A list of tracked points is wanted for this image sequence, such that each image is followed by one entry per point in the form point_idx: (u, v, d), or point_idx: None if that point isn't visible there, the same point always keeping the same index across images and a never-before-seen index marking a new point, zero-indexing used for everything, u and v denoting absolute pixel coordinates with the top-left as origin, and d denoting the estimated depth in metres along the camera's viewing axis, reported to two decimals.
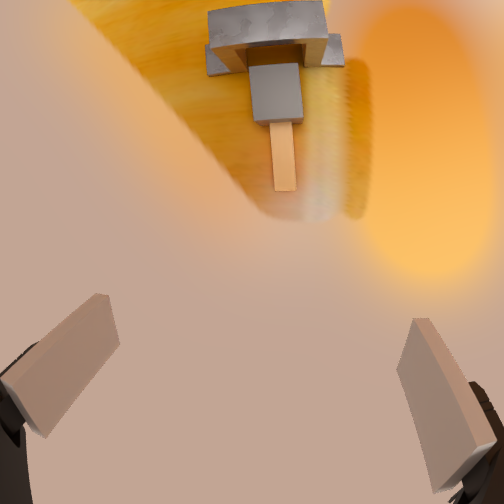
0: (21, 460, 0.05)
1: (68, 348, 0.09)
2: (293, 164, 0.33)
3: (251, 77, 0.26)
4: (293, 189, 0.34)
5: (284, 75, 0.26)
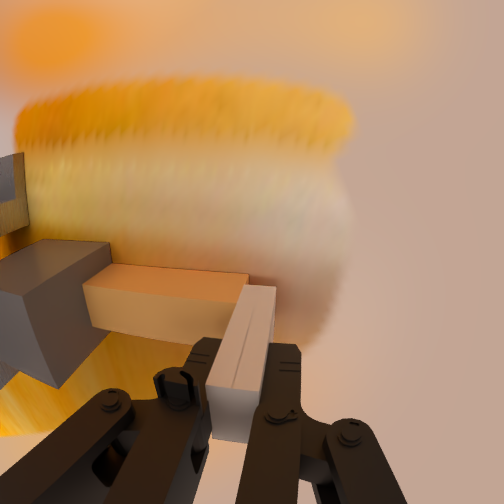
0: (193, 488, 0.06)
1: None
2: (169, 299, 0.13)
3: (4, 360, 0.11)
4: None
5: None
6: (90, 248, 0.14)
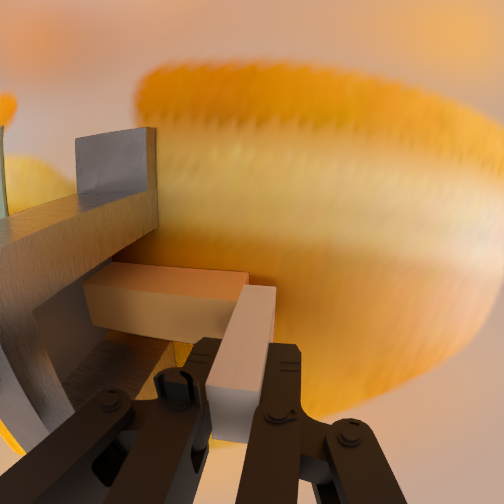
0: (193, 488, 0.06)
1: None
2: (169, 297, 0.13)
3: None
4: None
5: None
6: None
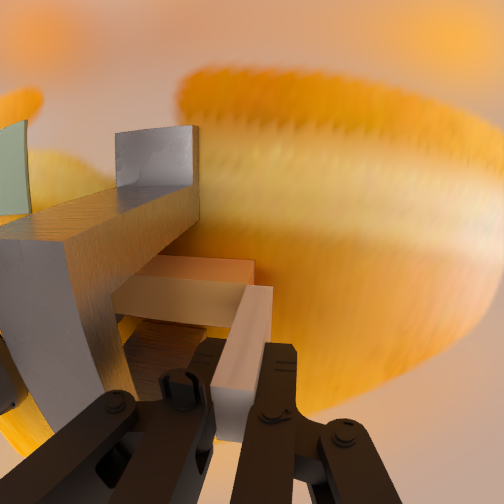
0: (197, 489, 0.06)
1: None
2: (184, 281, 0.14)
3: None
4: (244, 289, 0.14)
5: None
6: None
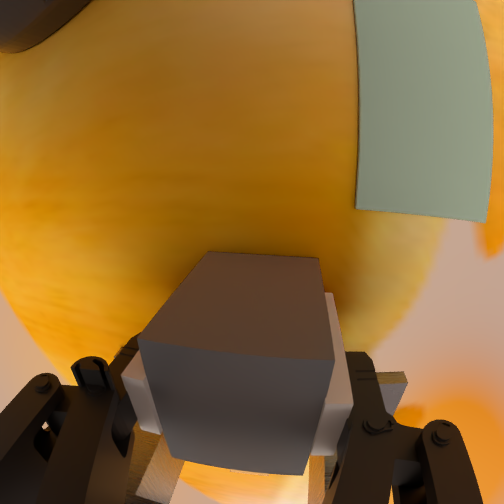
0: (123, 471, 0.06)
1: None
2: None
3: (151, 375, 0.08)
4: (263, 474, 0.15)
5: (269, 396, 0.07)
6: None
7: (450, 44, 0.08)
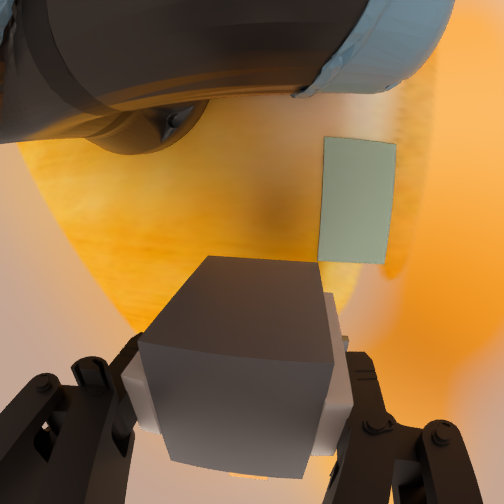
0: (123, 471, 0.06)
1: None
2: None
3: (151, 377, 0.08)
4: (262, 478, 0.15)
5: (269, 399, 0.07)
6: None
7: (371, 179, 0.26)
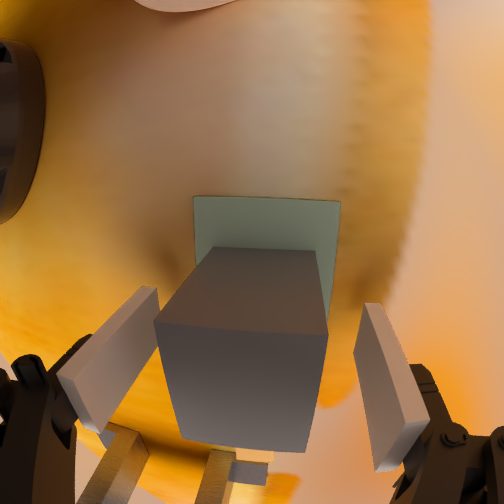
0: (69, 462, 0.06)
1: (123, 340, 0.10)
2: None
3: (165, 355, 0.09)
4: (268, 461, 0.16)
5: (272, 371, 0.08)
6: None
7: None
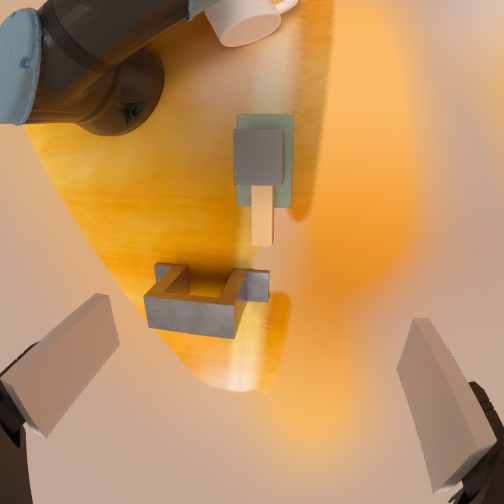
0: (21, 460, 0.05)
1: (68, 348, 0.09)
2: (270, 222, 0.36)
3: (235, 141, 0.30)
4: (269, 245, 0.37)
5: (267, 142, 0.29)
6: None
7: None
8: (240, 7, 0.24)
